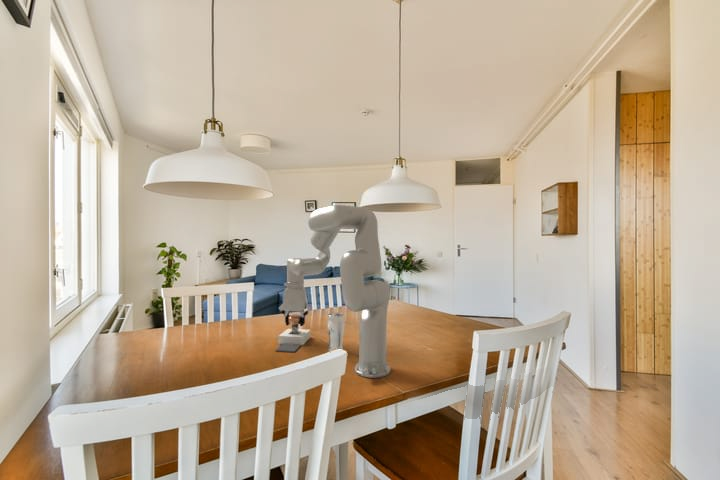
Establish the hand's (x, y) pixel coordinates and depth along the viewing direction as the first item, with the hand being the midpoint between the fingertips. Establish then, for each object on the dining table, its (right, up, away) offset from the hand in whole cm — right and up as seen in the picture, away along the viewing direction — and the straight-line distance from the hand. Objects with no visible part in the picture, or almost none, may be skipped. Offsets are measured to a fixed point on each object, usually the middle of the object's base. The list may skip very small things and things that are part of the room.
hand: (295, 324), depth 141 cm
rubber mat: (-1, -7, -11) cm, 13 cm away
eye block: (0, -7, 0) cm, 7 cm away
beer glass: (+19, -7, -12) cm, 24 cm away
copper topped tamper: (0, -7, 0) cm, 7 cm away
